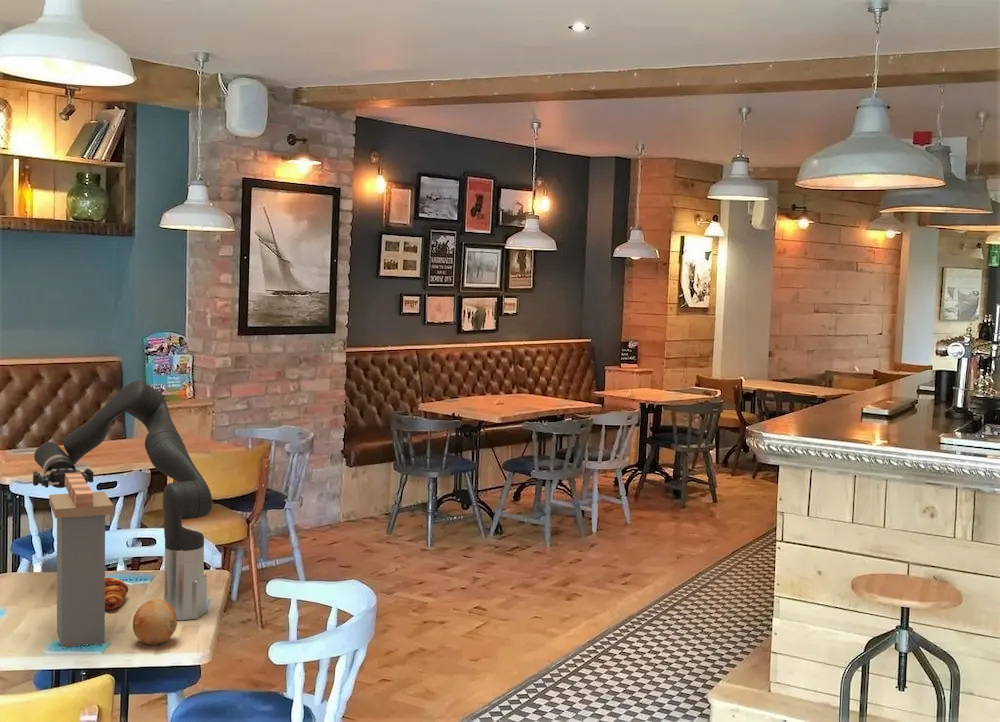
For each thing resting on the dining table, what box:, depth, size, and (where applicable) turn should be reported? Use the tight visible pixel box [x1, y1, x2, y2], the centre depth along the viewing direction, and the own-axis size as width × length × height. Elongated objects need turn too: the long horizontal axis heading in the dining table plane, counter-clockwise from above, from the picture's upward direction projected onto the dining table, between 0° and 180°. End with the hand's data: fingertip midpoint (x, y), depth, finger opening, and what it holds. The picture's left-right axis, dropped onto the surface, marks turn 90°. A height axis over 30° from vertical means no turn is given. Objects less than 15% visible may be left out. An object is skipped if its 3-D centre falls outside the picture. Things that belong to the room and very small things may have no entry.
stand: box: [48, 491, 114, 648], centre depth 239 cm, size 16×12×32 cm
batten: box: [64, 472, 94, 508], centre depth 242 cm, size 26×4×3 cm, turn 28°
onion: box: [132, 598, 178, 646], centre depth 237 cm, size 10×10×10 cm
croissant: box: [105, 577, 129, 610], centre depth 266 cm, size 21×10×8 cm, turn 30°
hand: (65, 482), depth 261 cm, fingers open, 8 cm apart
